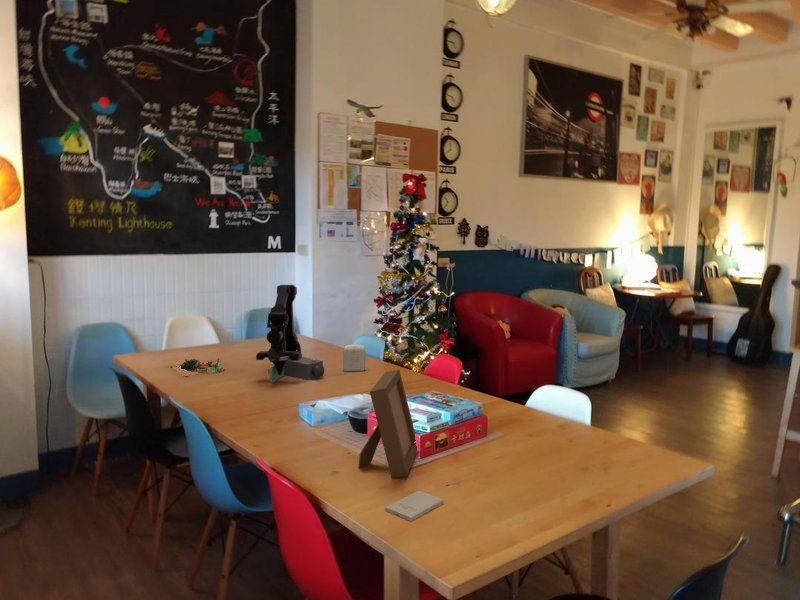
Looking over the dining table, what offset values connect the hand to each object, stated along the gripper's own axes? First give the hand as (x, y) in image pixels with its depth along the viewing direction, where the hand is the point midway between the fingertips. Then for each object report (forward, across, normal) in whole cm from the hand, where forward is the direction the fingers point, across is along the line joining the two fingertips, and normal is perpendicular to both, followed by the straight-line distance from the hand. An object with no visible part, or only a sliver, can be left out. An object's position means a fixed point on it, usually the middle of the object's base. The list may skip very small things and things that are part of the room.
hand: (279, 375), depth 271 cm
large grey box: (+3, +8, +11) cm, 14 cm away
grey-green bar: (+3, -3, +4) cm, 6 cm away
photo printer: (+3, +28, +24) cm, 37 cm away
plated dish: (+3, -43, +17) cm, 47 cm away
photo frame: (+5, +60, -83) cm, 102 cm away
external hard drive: (+6, +71, -110) cm, 131 cm away
